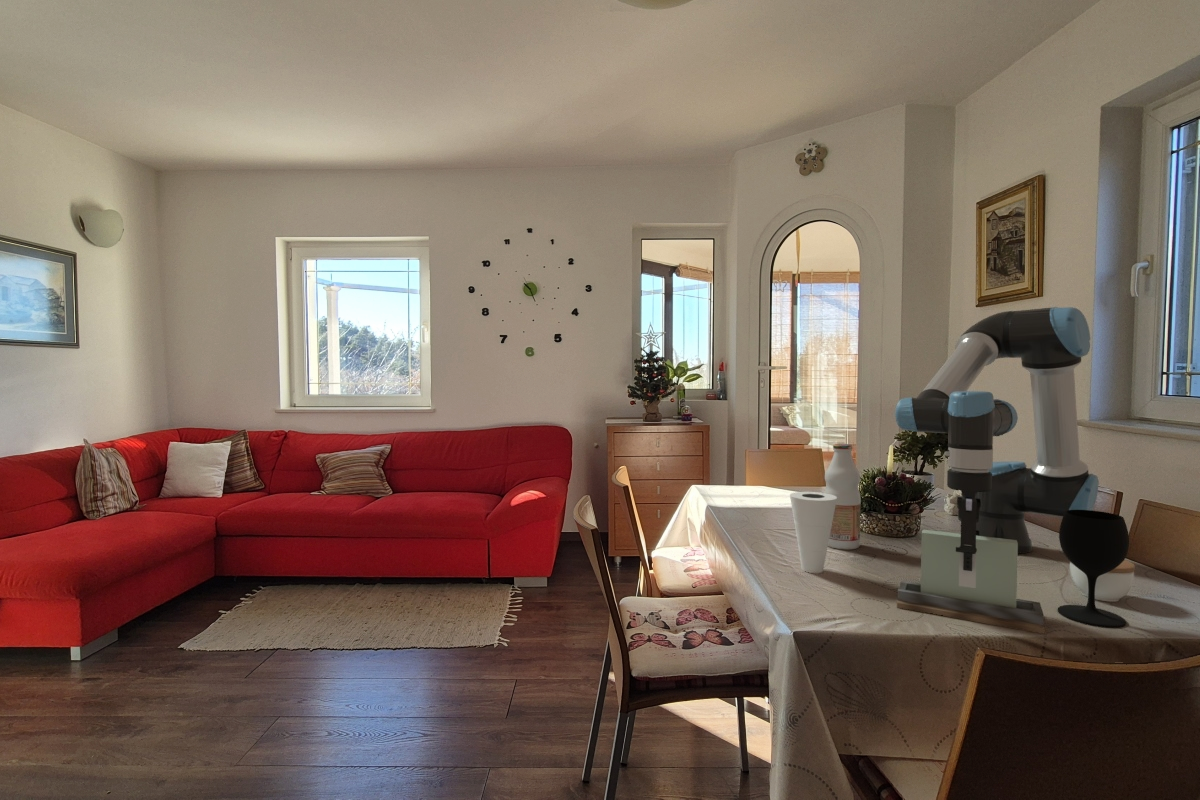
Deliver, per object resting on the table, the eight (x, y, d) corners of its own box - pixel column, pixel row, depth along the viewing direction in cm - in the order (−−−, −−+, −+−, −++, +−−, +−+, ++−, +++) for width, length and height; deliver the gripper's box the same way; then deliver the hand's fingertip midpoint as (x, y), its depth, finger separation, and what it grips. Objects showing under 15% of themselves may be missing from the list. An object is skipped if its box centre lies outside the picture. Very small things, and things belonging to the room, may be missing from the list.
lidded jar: (1055, 587, 133) (1057, 545, 132) (1105, 587, 132) (1106, 545, 132) (1094, 605, 122) (1095, 560, 122) (1148, 606, 122) (1150, 560, 121)
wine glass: (1140, 630, 110) (1143, 522, 109) (1075, 625, 112) (1078, 519, 111) (1104, 608, 120) (1107, 509, 120) (1046, 604, 122) (1048, 507, 122)
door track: (1038, 615, 117) (1039, 599, 117) (1044, 633, 109) (1044, 617, 109) (901, 592, 130) (901, 578, 130) (896, 607, 121) (897, 592, 121)
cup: (843, 569, 145) (844, 495, 144) (825, 580, 137) (826, 502, 137) (800, 560, 152) (801, 490, 152) (781, 570, 145) (782, 496, 144)
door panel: (1015, 611, 116) (1016, 540, 116) (1016, 617, 114) (1017, 543, 113) (921, 596, 125) (922, 529, 124) (920, 600, 122) (921, 532, 122)
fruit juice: (836, 551, 160) (837, 446, 159) (816, 541, 170) (817, 443, 169) (867, 548, 162) (868, 445, 161) (846, 539, 172) (847, 442, 171)
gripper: (949, 460, 131) (947, 557, 132) (945, 477, 109) (943, 591, 110) (990, 463, 127) (988, 562, 128) (994, 480, 106) (991, 599, 106)
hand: (967, 576), depth 119 cm, fingers open, 13 cm apart
